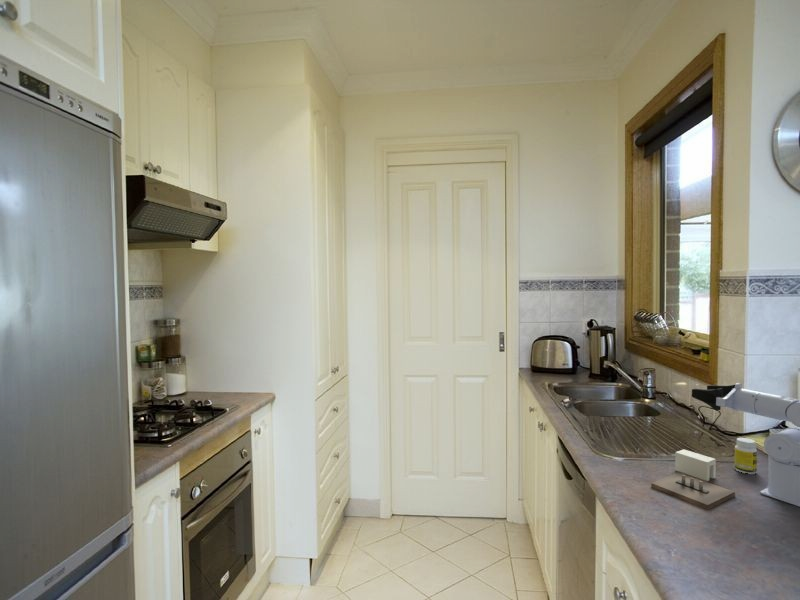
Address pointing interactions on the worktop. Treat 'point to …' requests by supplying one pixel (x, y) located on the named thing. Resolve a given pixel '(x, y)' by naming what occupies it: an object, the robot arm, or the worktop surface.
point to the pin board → (693, 490)
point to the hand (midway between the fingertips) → (700, 391)
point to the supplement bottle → (745, 456)
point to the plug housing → (695, 464)
